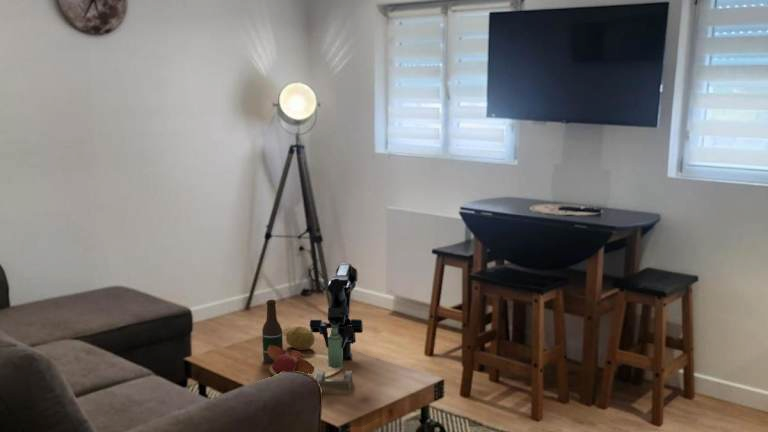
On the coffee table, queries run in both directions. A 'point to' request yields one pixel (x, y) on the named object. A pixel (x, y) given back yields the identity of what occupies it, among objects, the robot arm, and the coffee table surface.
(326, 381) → the square wooden tray
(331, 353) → the bottle
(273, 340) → the beer bottle
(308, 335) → the potato
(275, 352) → the brown red lumpy cluster
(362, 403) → the coffee table surface
